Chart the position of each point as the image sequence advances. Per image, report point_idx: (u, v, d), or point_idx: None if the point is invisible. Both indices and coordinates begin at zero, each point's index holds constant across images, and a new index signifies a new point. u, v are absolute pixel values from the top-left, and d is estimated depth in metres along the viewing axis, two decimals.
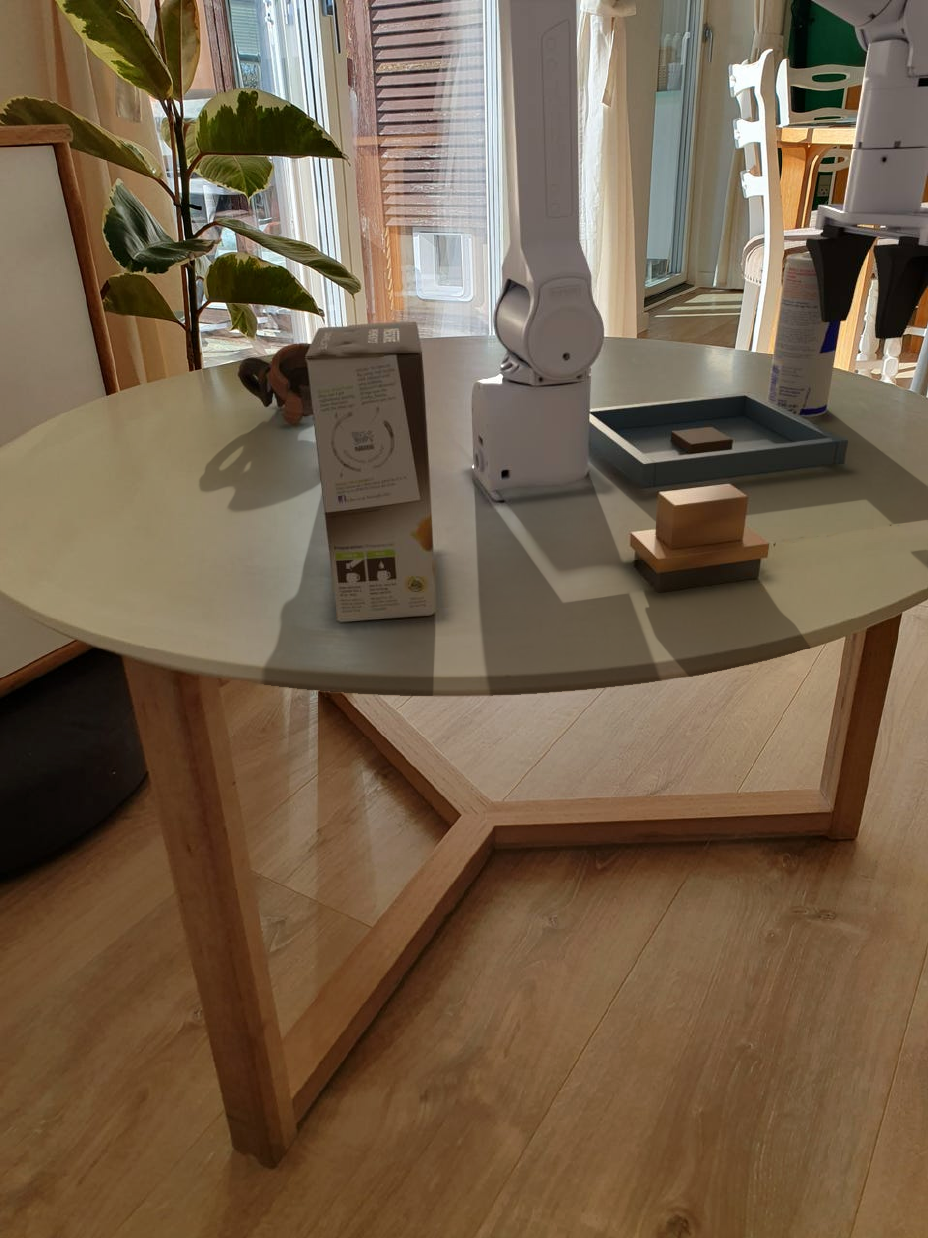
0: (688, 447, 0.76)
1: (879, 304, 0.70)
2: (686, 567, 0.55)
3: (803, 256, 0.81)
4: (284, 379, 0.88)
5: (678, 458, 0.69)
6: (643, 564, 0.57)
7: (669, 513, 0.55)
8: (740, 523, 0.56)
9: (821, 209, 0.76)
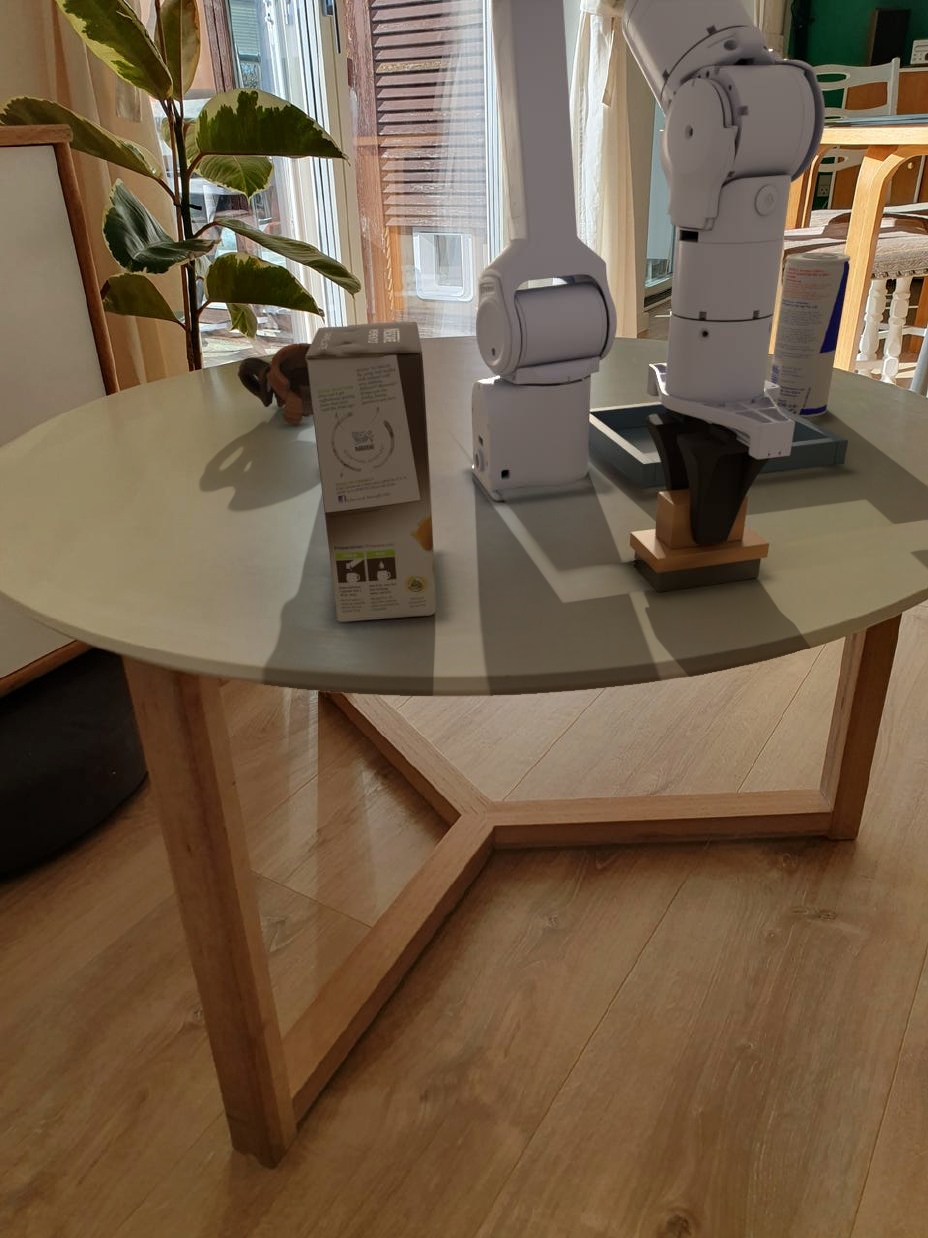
0: None
1: (692, 504, 0.54)
2: (686, 567, 0.55)
3: (803, 256, 0.81)
4: (284, 379, 0.88)
5: None
6: (643, 564, 0.57)
7: (668, 513, 0.55)
8: (740, 523, 0.56)
9: (651, 371, 0.58)
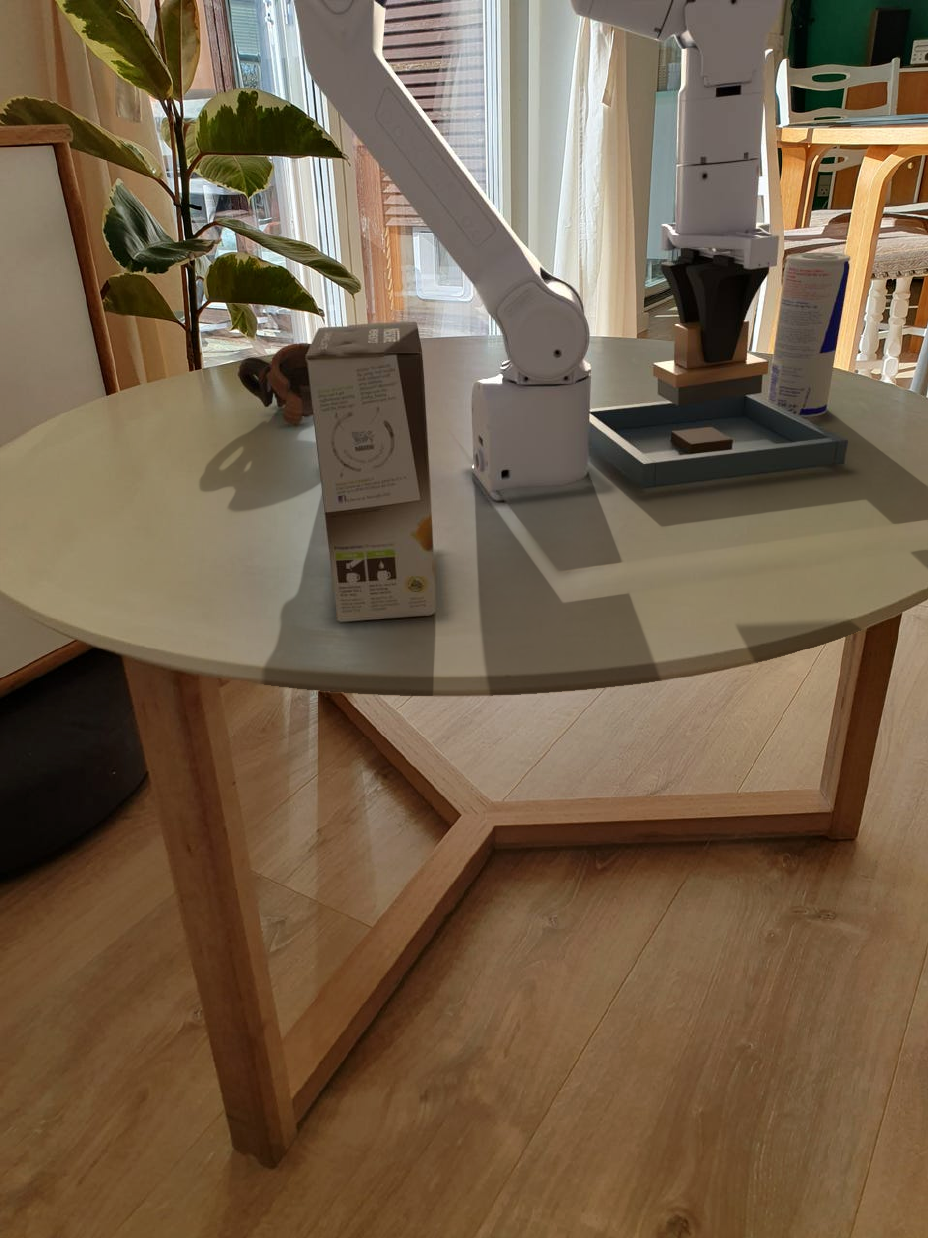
0: (688, 447, 0.76)
1: (701, 327, 0.66)
2: (700, 383, 0.67)
3: (803, 256, 0.81)
4: (284, 379, 0.88)
5: (678, 458, 0.69)
6: (665, 387, 0.69)
7: (684, 338, 0.67)
8: (743, 345, 0.67)
9: (664, 229, 0.70)
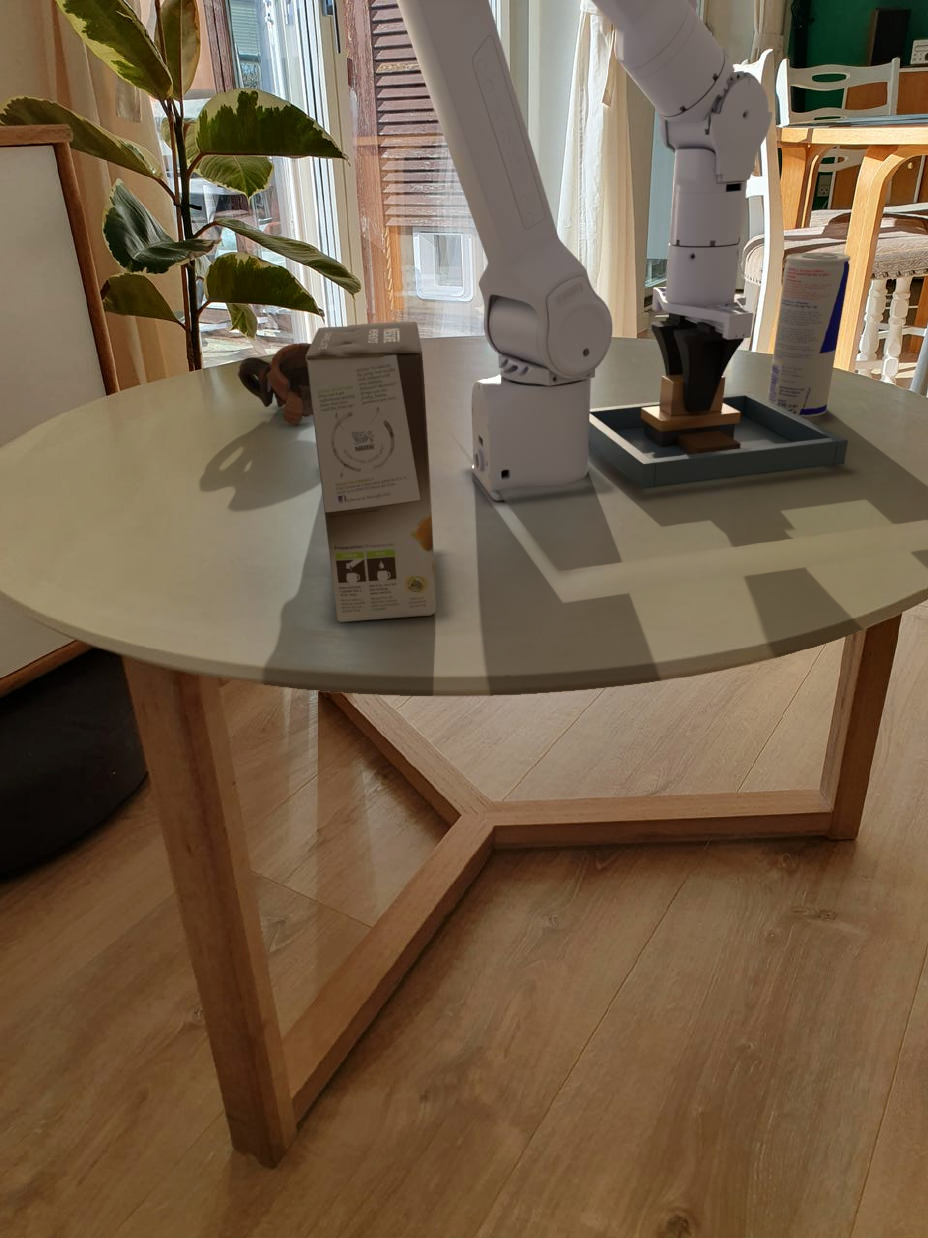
0: (695, 451, 0.75)
1: (684, 382, 0.76)
2: (681, 428, 0.77)
3: (803, 256, 0.81)
4: (284, 379, 0.89)
5: (678, 458, 0.69)
6: (651, 429, 0.80)
7: (669, 389, 0.77)
8: (720, 397, 0.78)
9: (655, 292, 0.80)
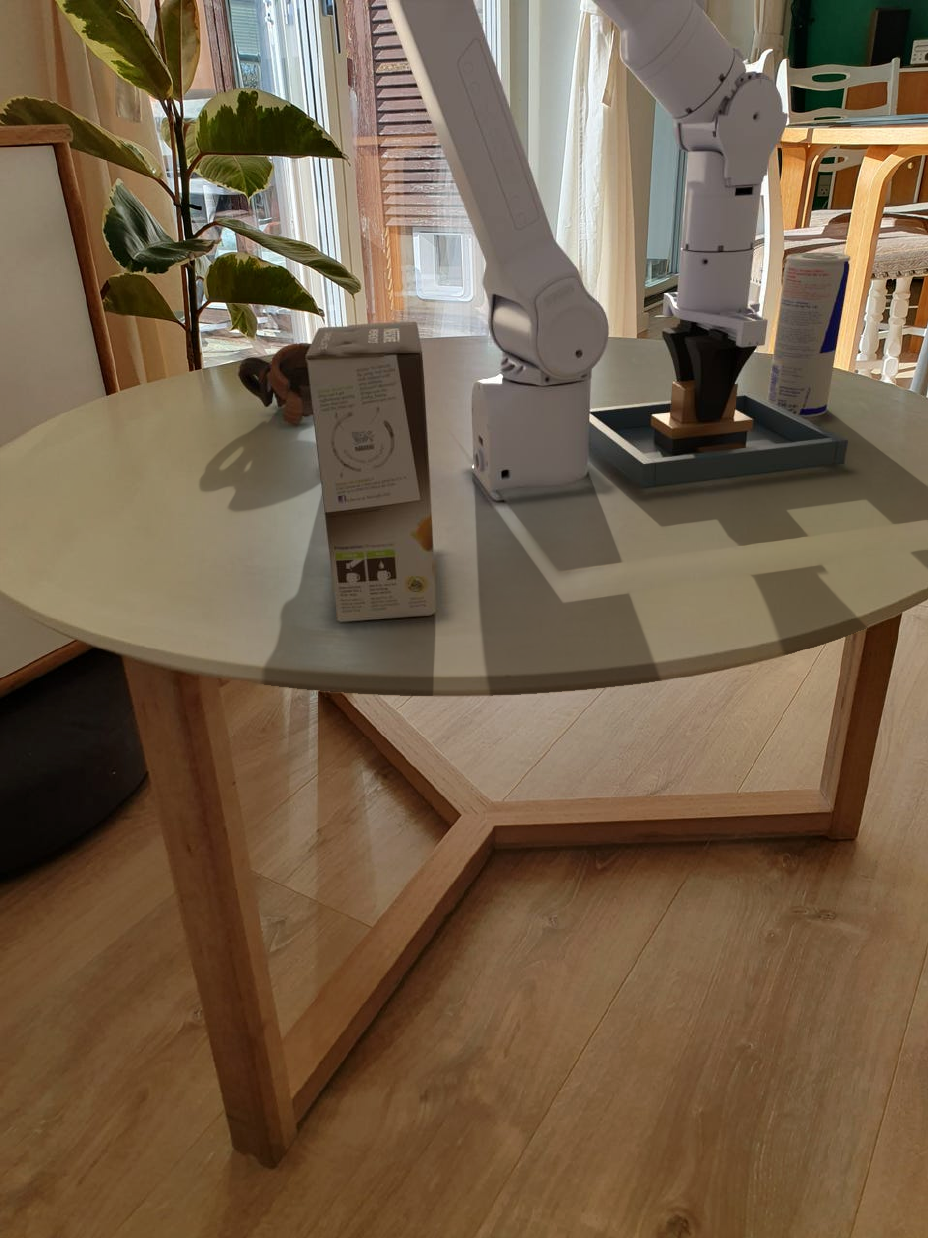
0: None
1: (696, 390, 0.74)
2: (693, 436, 0.75)
3: (803, 256, 0.81)
4: (284, 379, 0.89)
5: (678, 458, 0.69)
6: (661, 437, 0.78)
7: (680, 395, 0.75)
8: (732, 404, 0.76)
9: (666, 297, 0.78)
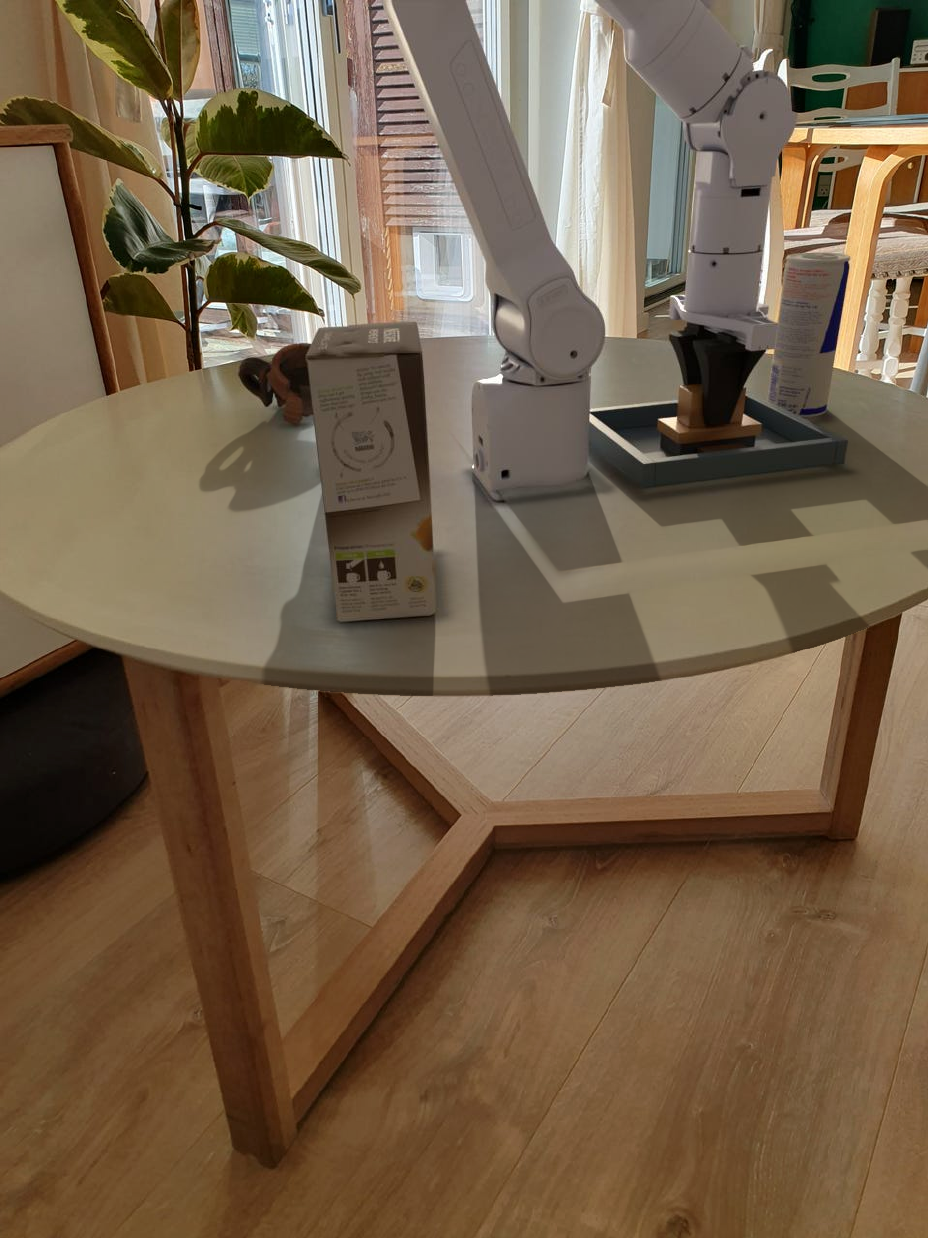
0: None
1: (703, 394, 0.73)
2: (700, 440, 0.74)
3: (803, 256, 0.81)
4: (284, 379, 0.89)
5: (678, 458, 0.69)
6: (668, 441, 0.77)
7: (687, 400, 0.74)
8: (740, 408, 0.75)
9: (672, 300, 0.77)
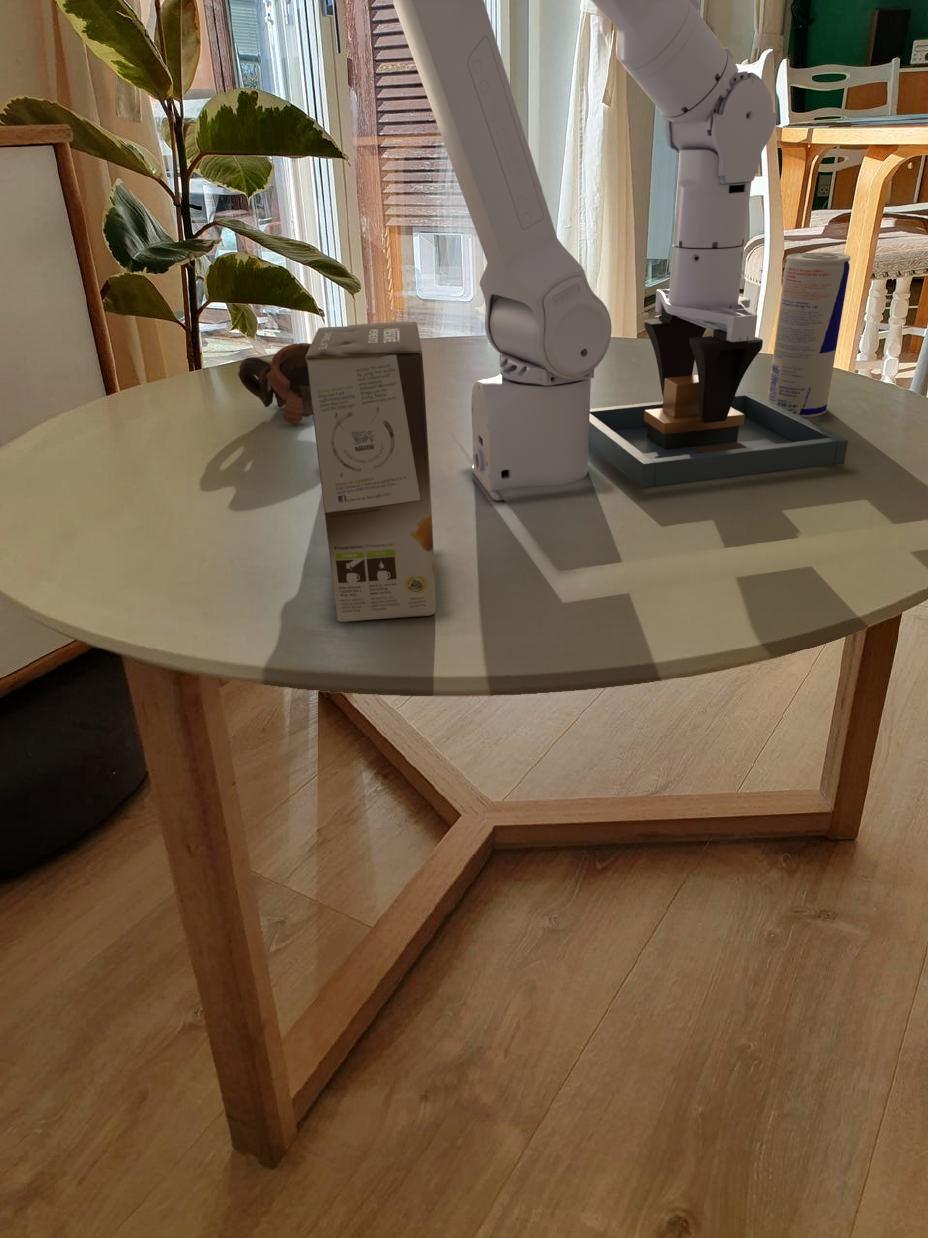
0: None
1: (700, 391, 0.74)
2: (685, 430, 0.77)
3: (803, 256, 0.81)
4: (284, 379, 0.89)
5: (678, 458, 0.69)
6: (654, 432, 0.79)
7: (672, 391, 0.77)
8: None
9: (658, 294, 0.79)
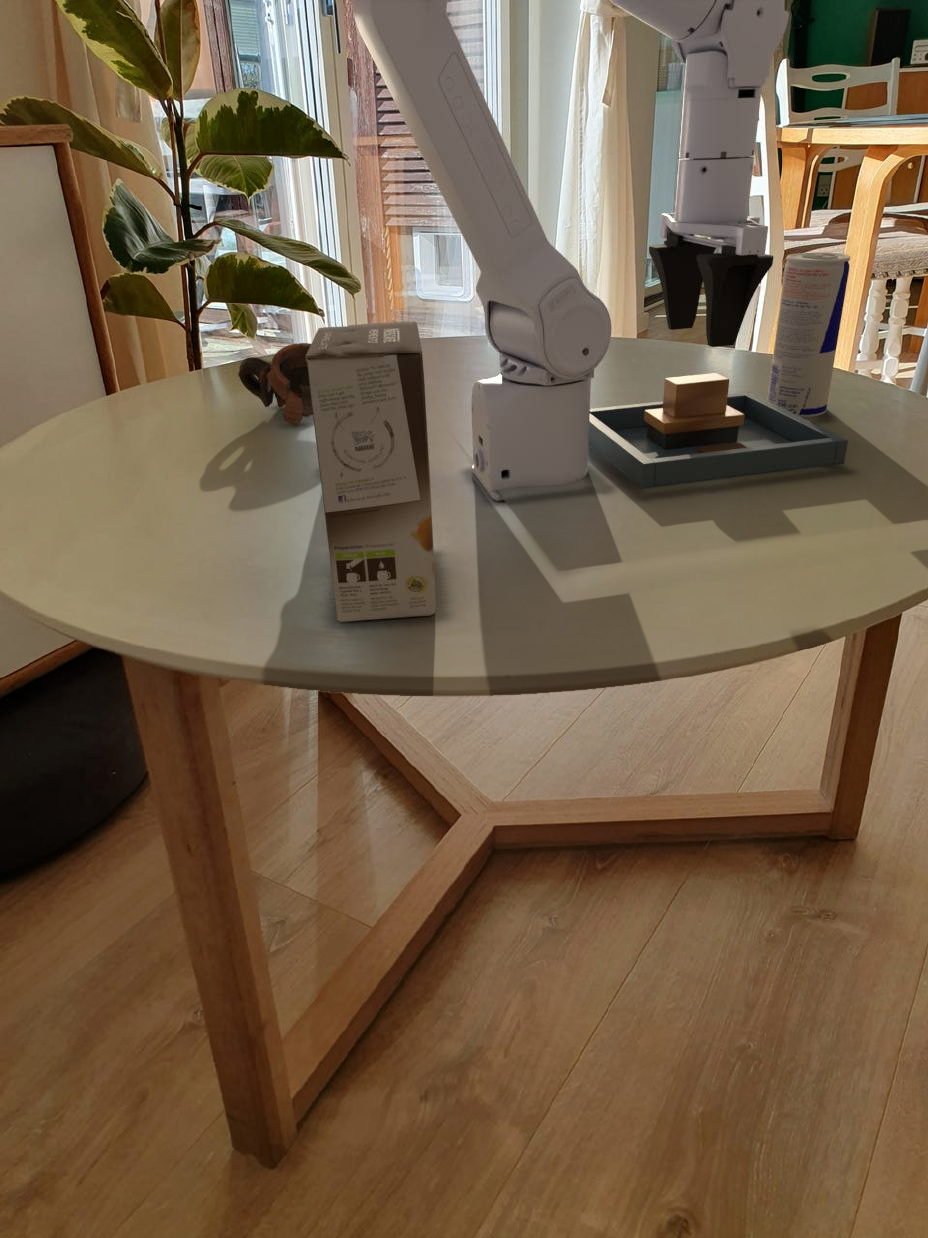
0: None
1: (707, 313, 0.70)
2: (685, 430, 0.77)
3: (803, 256, 0.81)
4: (284, 379, 0.89)
5: (678, 458, 0.69)
6: (654, 432, 0.79)
7: (672, 391, 0.77)
8: (723, 399, 0.77)
9: (663, 218, 0.76)
